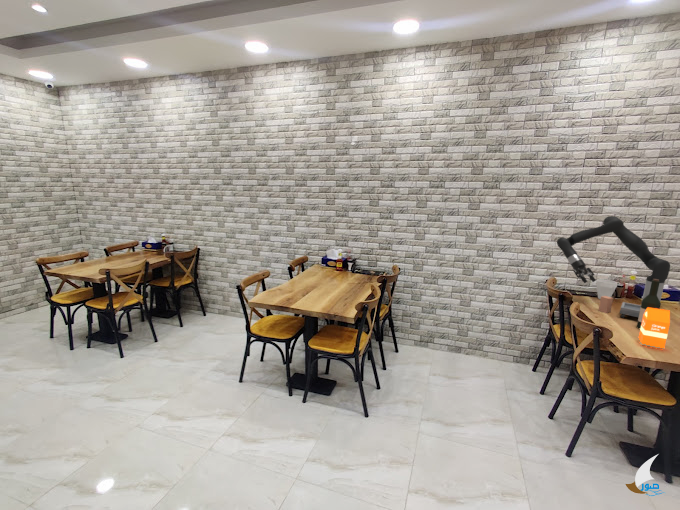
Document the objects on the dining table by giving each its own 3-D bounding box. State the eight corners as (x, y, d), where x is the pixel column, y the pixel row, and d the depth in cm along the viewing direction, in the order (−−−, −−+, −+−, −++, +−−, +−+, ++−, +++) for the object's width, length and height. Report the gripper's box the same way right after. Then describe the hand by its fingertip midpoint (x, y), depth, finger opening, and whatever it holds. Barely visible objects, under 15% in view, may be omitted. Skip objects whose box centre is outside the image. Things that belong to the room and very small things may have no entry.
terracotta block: (598, 310, 218) (600, 296, 216) (602, 309, 220) (605, 295, 218) (605, 313, 214) (608, 298, 212) (610, 312, 216) (613, 297, 214)
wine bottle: (650, 326, 193) (661, 278, 187) (658, 332, 186) (670, 282, 179) (633, 324, 196) (643, 276, 190) (640, 330, 188) (651, 280, 182)
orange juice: (664, 349, 166) (672, 312, 162) (641, 345, 170) (648, 309, 166) (659, 343, 172) (667, 308, 168) (637, 339, 177) (645, 304, 173)
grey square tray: (621, 311, 216) (623, 302, 215) (649, 317, 207) (652, 307, 205) (618, 317, 207) (620, 307, 205) (648, 324, 197) (651, 313, 195)
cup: (596, 300, 239) (599, 282, 236) (591, 295, 250) (594, 278, 247) (617, 302, 234) (620, 284, 231) (610, 297, 245) (614, 279, 242)
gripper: (573, 259, 227) (587, 280, 219) (587, 258, 232) (601, 278, 224) (564, 265, 233) (578, 285, 225) (578, 264, 238) (592, 283, 230)
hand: (590, 281), depth 224 cm, fingers open, 8 cm apart
